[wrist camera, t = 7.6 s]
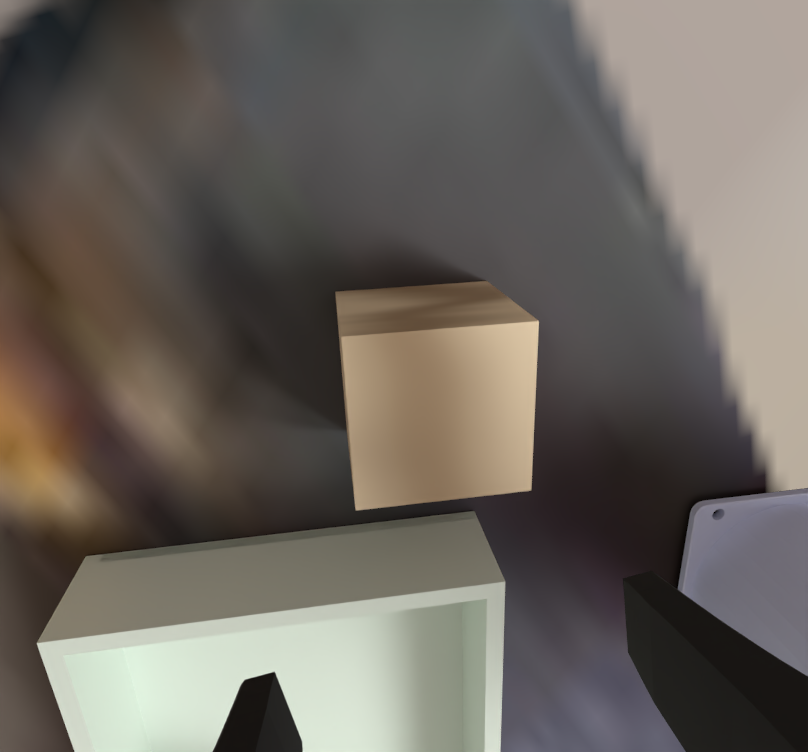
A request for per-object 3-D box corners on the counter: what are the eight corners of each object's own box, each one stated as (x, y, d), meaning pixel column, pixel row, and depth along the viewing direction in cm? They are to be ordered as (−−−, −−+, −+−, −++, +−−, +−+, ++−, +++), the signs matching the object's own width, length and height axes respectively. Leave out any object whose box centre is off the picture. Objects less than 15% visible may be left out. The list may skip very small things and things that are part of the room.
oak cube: (486, 280, 20) (539, 321, 15) (484, 416, 21) (531, 490, 17) (334, 291, 19) (341, 337, 14) (347, 430, 21) (355, 510, 16)
